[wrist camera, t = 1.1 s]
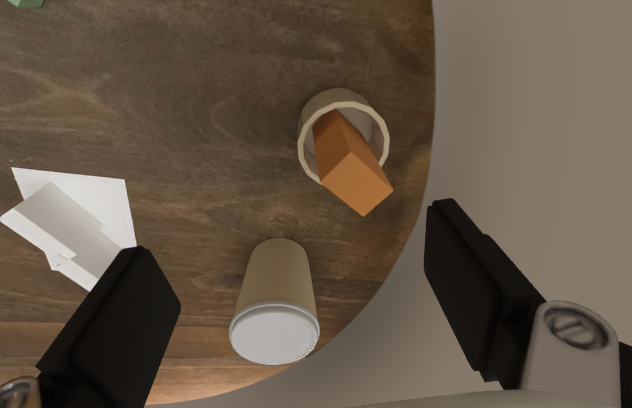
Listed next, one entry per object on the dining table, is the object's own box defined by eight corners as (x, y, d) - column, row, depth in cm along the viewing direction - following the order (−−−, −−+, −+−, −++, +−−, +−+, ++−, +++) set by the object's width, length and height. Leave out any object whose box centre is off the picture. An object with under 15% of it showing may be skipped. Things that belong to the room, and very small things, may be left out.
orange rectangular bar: (332, 104, 30) (350, 151, 20) (362, 133, 32) (394, 190, 22) (311, 126, 31) (319, 182, 21) (342, 154, 33) (363, 217, 23)
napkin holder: (8, 167, 32) (-42, 194, 27) (124, 178, 34) (95, 206, 29) (52, 270, 40) (18, 306, 35) (144, 276, 41) (124, 311, 36)
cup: (336, 68, 29) (344, 79, 24) (391, 125, 32) (407, 144, 27) (281, 131, 32) (279, 152, 27) (336, 178, 35) (343, 203, 30)
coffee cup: (229, 259, 41) (207, 341, 30) (279, 219, 38) (274, 296, 28) (278, 293, 45) (274, 376, 34) (327, 260, 42) (338, 340, 32)
